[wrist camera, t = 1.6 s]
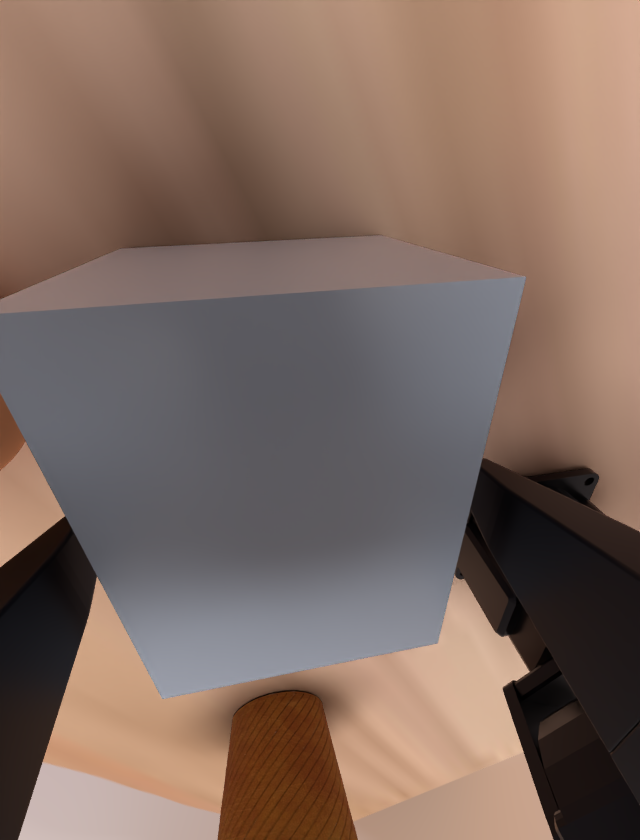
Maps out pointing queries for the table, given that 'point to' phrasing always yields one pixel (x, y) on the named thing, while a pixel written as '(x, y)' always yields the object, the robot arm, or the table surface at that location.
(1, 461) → the ball
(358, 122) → the table surface
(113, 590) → the grey rectangular block
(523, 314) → the table surface
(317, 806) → the disposable coffee cup
